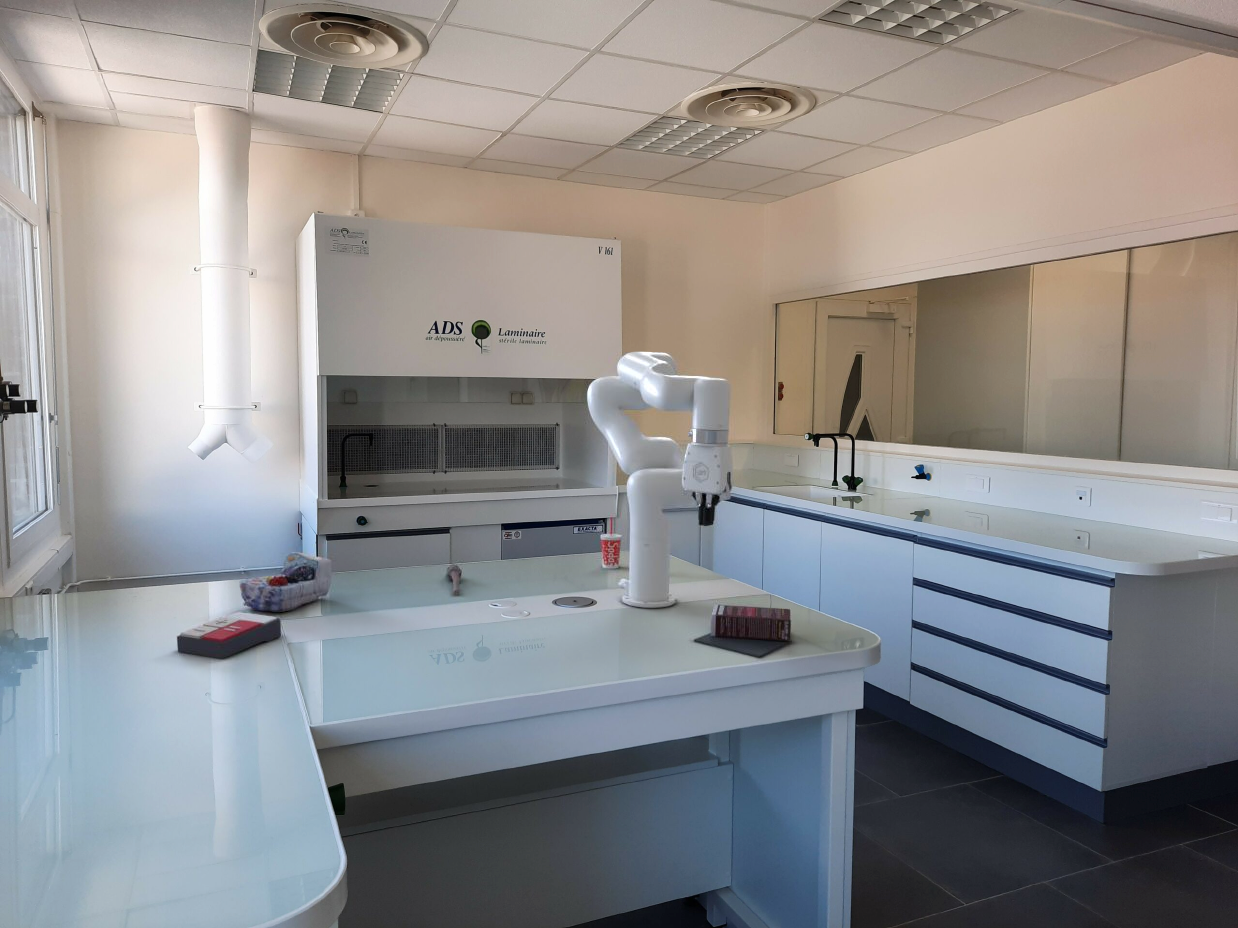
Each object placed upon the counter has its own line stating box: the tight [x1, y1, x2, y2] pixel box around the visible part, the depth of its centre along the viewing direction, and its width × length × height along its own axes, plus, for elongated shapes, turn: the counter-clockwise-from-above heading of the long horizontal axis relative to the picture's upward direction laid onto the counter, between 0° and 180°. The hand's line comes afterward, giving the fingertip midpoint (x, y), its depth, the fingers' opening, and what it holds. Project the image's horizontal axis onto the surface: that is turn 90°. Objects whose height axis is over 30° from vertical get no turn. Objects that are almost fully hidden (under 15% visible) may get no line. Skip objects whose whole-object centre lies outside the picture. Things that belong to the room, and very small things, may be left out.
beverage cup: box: [600, 517, 623, 570], centre depth 234 cm, size 6×6×14 cm
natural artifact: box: [445, 564, 463, 596], centre depth 211 cm, size 4×23×4 cm
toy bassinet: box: [239, 551, 333, 613], centre depth 188 cm, size 13×11×20 cm
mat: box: [693, 632, 793, 658], centre depth 168 cm, size 15×13×1 cm
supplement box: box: [710, 604, 792, 641], centre depth 172 cm, size 9×5×16 cm
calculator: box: [176, 611, 282, 660], centre depth 160 cm, size 11×4×15 cm
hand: (706, 524), depth 175 cm, fingers closed
